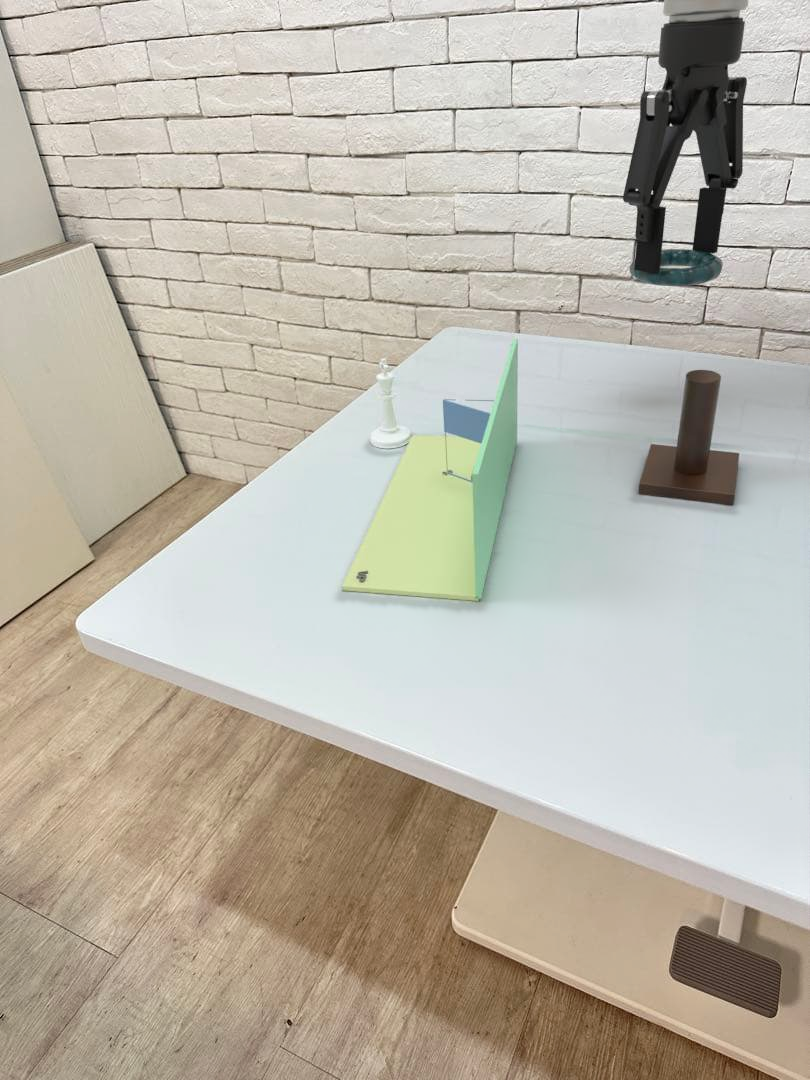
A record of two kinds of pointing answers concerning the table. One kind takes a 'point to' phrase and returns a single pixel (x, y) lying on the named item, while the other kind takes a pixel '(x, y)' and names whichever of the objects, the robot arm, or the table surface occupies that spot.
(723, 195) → the robot arm
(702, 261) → the ring
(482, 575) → the display stand
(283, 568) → the table surface
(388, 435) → the chess piece
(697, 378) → the stand
